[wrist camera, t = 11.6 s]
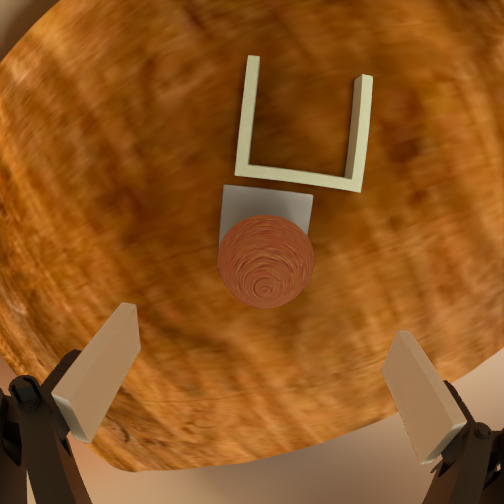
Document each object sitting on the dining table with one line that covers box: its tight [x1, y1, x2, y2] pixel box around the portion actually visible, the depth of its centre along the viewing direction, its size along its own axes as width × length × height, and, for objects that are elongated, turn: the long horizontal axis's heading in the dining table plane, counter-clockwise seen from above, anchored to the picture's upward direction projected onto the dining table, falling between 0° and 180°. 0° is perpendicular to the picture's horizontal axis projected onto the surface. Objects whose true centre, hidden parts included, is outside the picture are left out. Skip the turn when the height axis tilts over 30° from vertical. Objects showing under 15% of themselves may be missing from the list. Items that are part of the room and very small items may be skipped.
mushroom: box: [217, 215, 314, 309], centre depth 26 cm, size 8×8×15 cm
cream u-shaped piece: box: [235, 55, 373, 193], centre depth 29 cm, size 13×13×3 cm
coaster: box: [217, 184, 313, 269], centre depth 34 cm, size 10×10×1 cm
